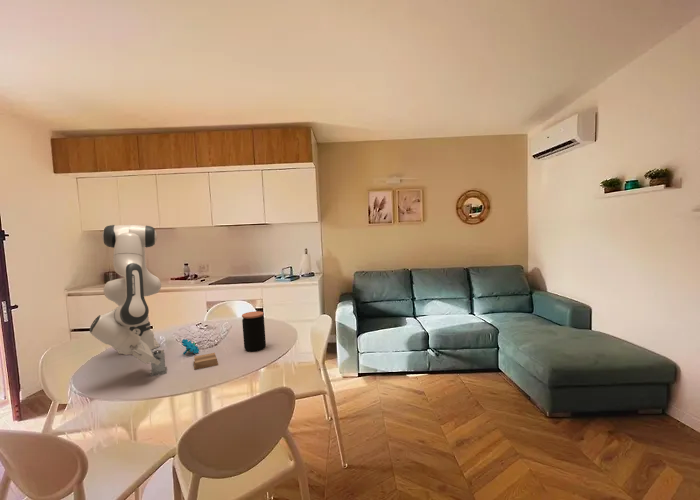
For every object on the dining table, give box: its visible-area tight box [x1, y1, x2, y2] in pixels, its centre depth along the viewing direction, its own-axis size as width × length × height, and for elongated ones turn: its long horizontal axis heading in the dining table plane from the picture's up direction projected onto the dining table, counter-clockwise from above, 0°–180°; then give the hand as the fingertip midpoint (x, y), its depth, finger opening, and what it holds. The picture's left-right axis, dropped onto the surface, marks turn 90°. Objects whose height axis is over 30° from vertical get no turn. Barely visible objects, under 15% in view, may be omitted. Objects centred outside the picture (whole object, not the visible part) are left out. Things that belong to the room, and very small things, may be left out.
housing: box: [150, 349, 168, 377], centre depth 156 cm, size 6×6×10 cm
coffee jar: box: [241, 310, 267, 353], centre depth 180 cm, size 11×11×18 cm
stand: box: [193, 352, 219, 371], centre depth 163 cm, size 10×10×3 cm
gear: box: [181, 338, 200, 355], centre depth 179 cm, size 11×6×10 cm
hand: (157, 360), depth 156 cm, fingers open, 8 cm apart
